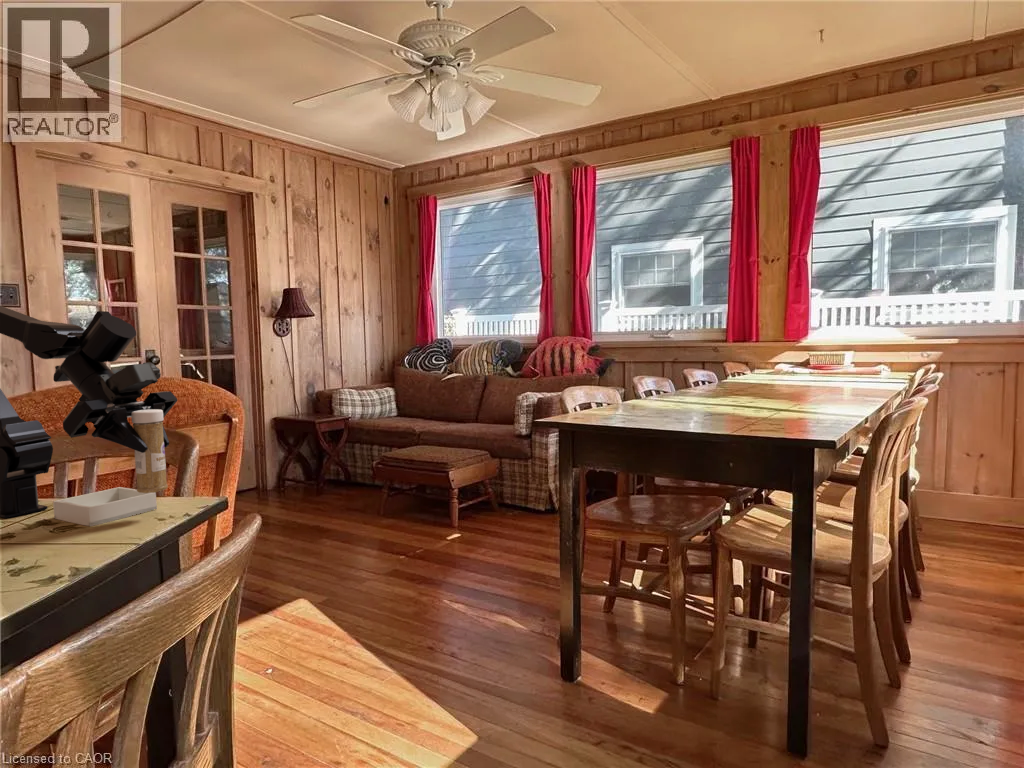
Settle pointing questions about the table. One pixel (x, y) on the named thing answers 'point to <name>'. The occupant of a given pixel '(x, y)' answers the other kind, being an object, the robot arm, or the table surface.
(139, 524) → the table surface
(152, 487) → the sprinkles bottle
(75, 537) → the table surface
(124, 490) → the grey bin
